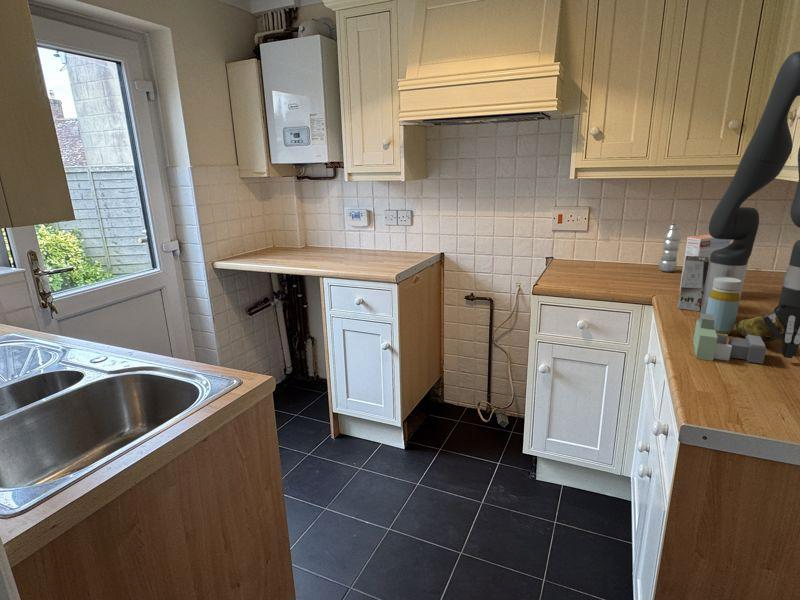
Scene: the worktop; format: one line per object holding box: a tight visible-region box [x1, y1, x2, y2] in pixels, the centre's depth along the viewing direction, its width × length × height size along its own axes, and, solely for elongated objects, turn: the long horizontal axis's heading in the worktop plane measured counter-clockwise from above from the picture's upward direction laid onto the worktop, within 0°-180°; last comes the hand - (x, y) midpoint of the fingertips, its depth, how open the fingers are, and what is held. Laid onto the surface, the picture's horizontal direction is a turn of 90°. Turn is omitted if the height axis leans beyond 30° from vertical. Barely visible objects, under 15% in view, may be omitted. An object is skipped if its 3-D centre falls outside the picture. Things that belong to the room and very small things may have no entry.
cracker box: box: [679, 234, 731, 295], centre depth 166 cm, size 14×6×21 cm, turn 108°
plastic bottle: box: [658, 223, 682, 273], centre depth 199 cm, size 6×7×20 cm
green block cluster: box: [692, 313, 732, 362], centre depth 118 cm, size 13×7×8 cm, turn 152°
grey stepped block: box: [727, 335, 767, 364], centre depth 115 cm, size 8×6×4 cm
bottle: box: [706, 277, 741, 336], centre depth 131 cm, size 7×7×15 cm
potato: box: [735, 316, 783, 345], centre depth 123 cm, size 8×13×8 cm, turn 154°
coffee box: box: [677, 256, 709, 312], centre depth 153 cm, size 9×6×16 cm
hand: (787, 356), depth 112 cm, fingers closed
